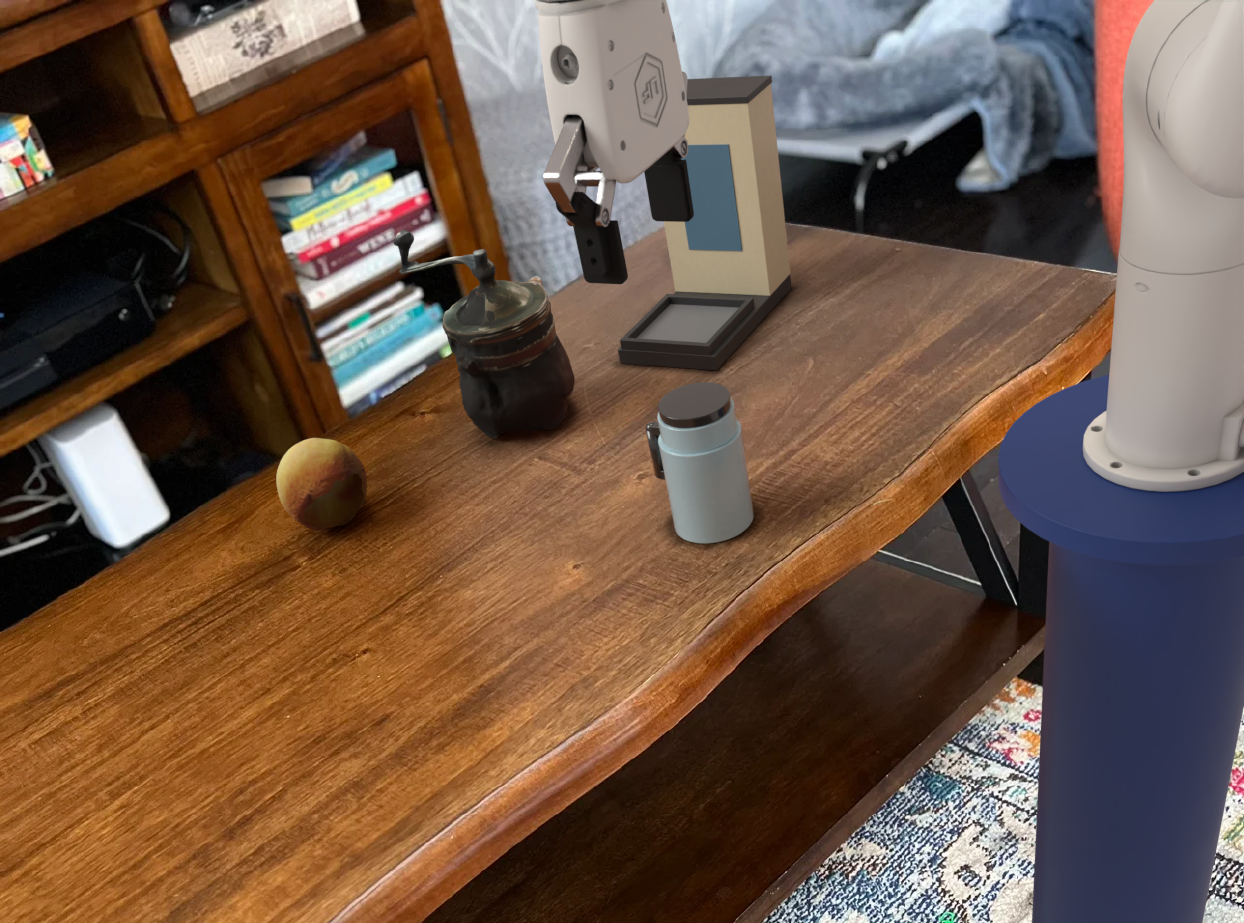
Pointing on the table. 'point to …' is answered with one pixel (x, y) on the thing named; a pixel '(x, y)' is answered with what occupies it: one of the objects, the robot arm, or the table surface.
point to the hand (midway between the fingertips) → (641, 250)
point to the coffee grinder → (503, 348)
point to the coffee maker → (721, 232)
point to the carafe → (702, 462)
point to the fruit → (321, 483)
